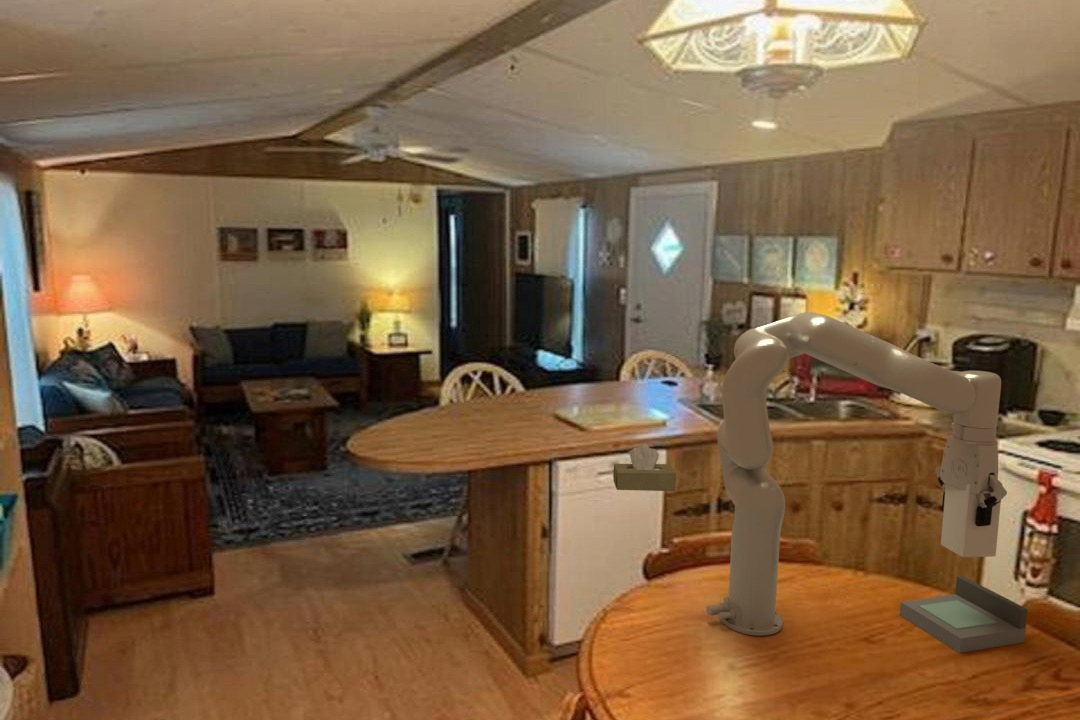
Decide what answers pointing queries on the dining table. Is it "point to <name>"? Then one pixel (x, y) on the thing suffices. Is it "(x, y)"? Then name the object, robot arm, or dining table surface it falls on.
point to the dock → (968, 617)
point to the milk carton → (968, 524)
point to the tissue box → (644, 472)
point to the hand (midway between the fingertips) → (965, 517)
